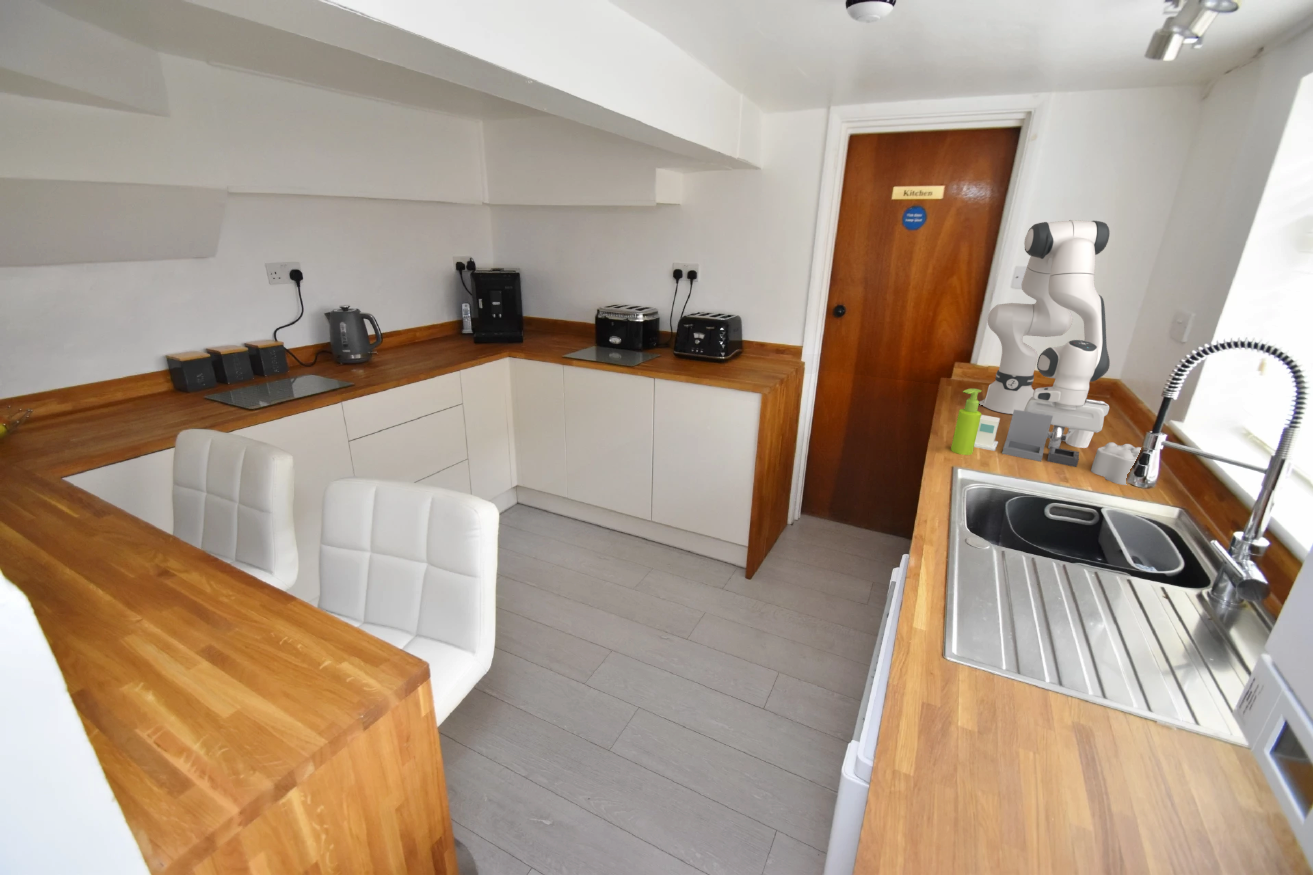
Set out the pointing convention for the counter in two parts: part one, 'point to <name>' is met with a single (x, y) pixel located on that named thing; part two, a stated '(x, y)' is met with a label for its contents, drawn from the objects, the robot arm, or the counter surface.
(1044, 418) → the grey device stand
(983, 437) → the block
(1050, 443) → the rod
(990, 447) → the plate
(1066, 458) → the rod bracket
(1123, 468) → the lumpy-topped squat cylinder
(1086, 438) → the white faceted tapered cup
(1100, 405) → the robot arm
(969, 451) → the soap dispenser
